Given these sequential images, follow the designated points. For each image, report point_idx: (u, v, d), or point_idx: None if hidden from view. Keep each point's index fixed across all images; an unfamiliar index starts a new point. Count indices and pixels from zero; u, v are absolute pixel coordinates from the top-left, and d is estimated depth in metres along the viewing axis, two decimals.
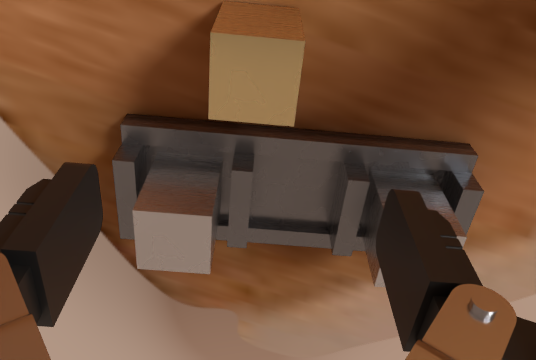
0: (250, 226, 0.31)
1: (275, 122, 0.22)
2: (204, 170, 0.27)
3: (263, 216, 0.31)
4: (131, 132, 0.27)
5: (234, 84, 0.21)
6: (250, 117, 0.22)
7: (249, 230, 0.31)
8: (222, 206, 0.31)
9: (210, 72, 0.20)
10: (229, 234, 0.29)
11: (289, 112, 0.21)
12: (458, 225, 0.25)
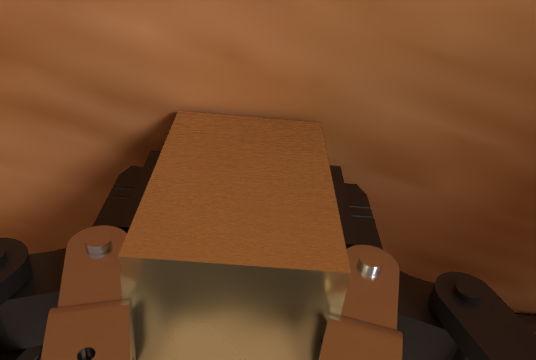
0: None
1: None
2: None
3: None
4: None
5: (185, 345, 0.09)
6: None
7: None
8: None
9: None
10: None
11: None
12: None
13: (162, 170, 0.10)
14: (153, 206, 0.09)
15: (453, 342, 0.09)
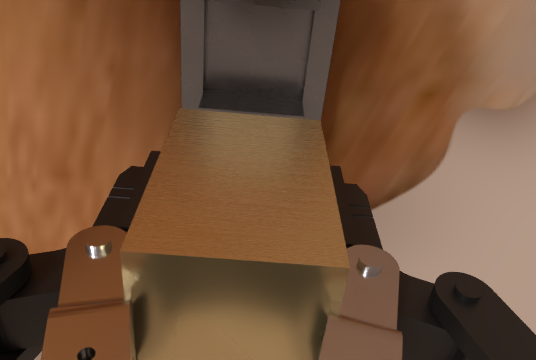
0: (302, 97, 0.26)
1: None
2: None
3: (294, 80, 0.26)
4: None
5: (187, 339, 0.09)
6: None
7: (306, 100, 0.26)
8: None
9: None
10: None
11: None
12: None
13: (163, 167, 0.10)
14: (154, 202, 0.09)
15: (453, 342, 0.09)
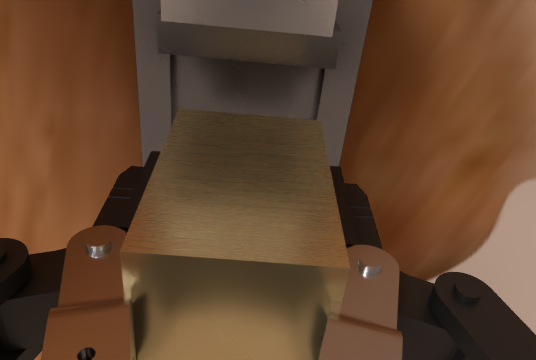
0: None
1: None
2: None
3: None
4: None
5: (186, 339, 0.09)
6: None
7: None
8: None
9: None
10: None
11: None
12: None
13: (163, 167, 0.10)
14: (154, 202, 0.09)
15: (453, 342, 0.09)
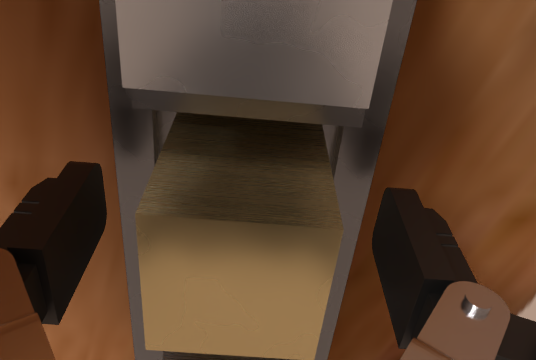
0: None
1: (278, 355, 0.11)
2: None
3: None
4: None
5: (194, 299, 0.10)
6: (228, 348, 0.11)
7: None
8: None
9: (143, 281, 0.10)
10: None
11: (306, 341, 0.11)
12: None
13: (172, 144, 0.11)
14: (165, 174, 0.10)
15: None
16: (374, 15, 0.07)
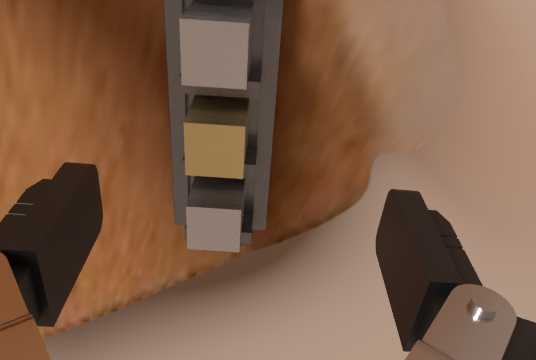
0: (256, 149, 0.37)
1: (230, 176, 0.32)
2: None
3: (251, 137, 0.37)
4: (180, 219, 0.41)
5: (201, 153, 0.31)
6: (213, 173, 0.32)
7: (259, 151, 0.37)
8: None
9: (185, 146, 0.31)
10: None
11: (239, 170, 0.32)
12: None
13: (193, 105, 0.33)
14: (191, 113, 0.31)
15: None
16: (243, 66, 0.28)
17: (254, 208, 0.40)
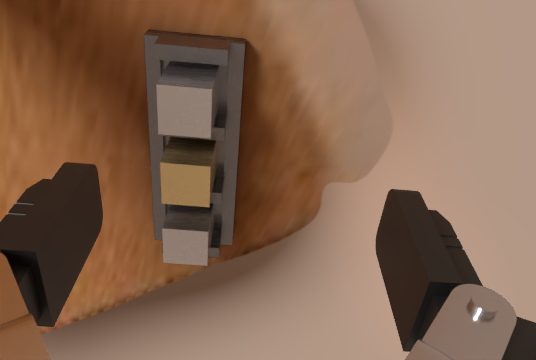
0: (223, 179, 0.44)
1: (198, 205, 0.39)
2: None
3: (219, 168, 0.44)
4: (158, 235, 0.48)
5: (174, 186, 0.38)
6: (184, 202, 0.39)
7: (225, 180, 0.44)
8: None
9: (161, 181, 0.38)
10: (210, 202, 0.43)
11: (206, 200, 0.39)
12: (159, 81, 0.34)
13: (169, 145, 0.39)
14: (167, 153, 0.38)
15: None
16: (208, 120, 0.35)
17: (222, 227, 0.47)
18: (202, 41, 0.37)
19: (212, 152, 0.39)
